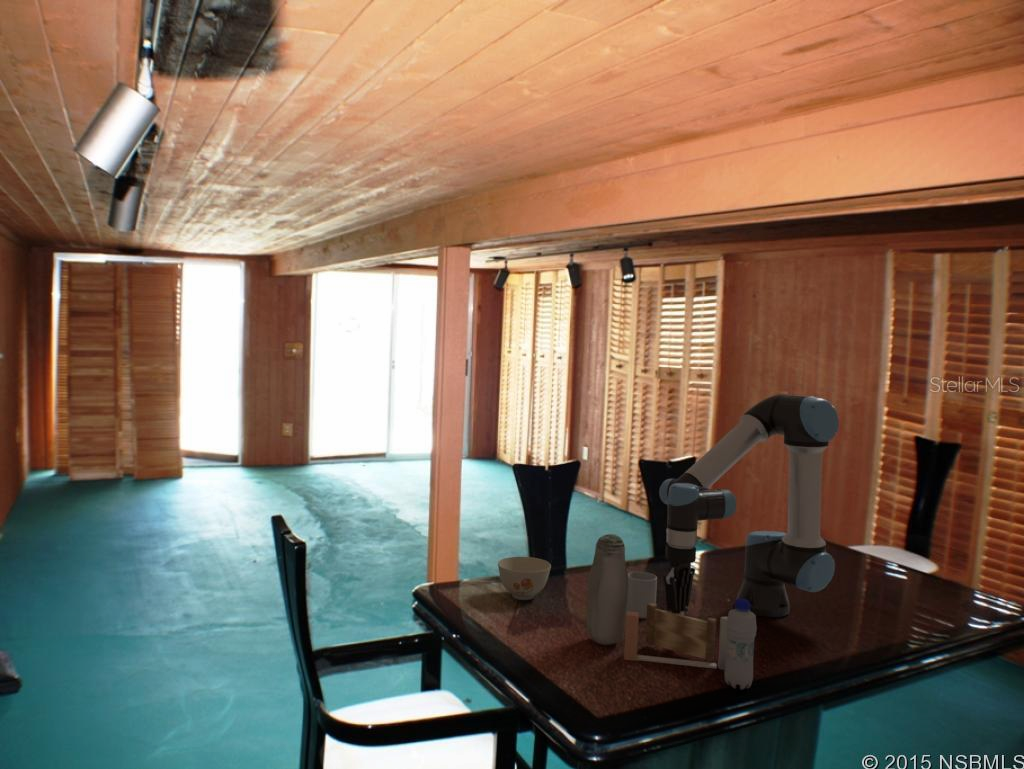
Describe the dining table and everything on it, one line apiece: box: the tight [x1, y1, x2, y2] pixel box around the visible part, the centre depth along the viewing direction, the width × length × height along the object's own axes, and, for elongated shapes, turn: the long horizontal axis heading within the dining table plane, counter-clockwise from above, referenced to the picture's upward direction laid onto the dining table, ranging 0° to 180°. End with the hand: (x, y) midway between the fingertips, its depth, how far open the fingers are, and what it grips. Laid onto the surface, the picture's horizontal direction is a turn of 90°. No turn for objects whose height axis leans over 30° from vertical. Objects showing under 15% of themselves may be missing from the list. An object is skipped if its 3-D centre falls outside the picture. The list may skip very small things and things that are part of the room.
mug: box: [627, 571, 658, 619], centre depth 218 cm, size 12×8×11 cm
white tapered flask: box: [585, 533, 629, 646], centre depth 194 cm, size 10×10×28 cm
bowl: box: [497, 556, 552, 601], centre depth 227 cm, size 16×16×10 cm
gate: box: [644, 603, 717, 663], centre depth 188 cm, size 18×2×10 cm, turn 55°
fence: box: [623, 611, 728, 671], centre depth 183 cm, size 26×3×12 cm, turn 80°
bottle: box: [723, 598, 758, 690], centre depth 172 cm, size 7×7×20 cm
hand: (676, 635), depth 193 cm, fingers closed
